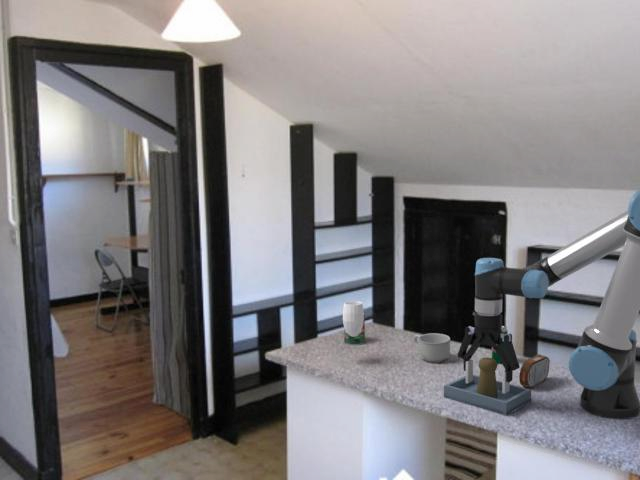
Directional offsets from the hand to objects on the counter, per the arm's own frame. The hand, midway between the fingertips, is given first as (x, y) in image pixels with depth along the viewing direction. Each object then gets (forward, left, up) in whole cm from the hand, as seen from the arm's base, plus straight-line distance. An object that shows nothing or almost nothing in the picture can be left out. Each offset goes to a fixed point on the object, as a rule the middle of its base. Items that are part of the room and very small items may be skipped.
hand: (487, 387), depth 185 cm
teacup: (+34, -20, -4) cm, 40 cm away
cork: (0, 0, -3) cm, 3 cm away
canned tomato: (+67, -17, -4) cm, 69 cm away
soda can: (+15, -33, -4) cm, 36 cm away
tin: (-4, -21, -4) cm, 22 cm away
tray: (0, 0, -4) cm, 4 cm away
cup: (+51, +1, -4) cm, 51 cm away
